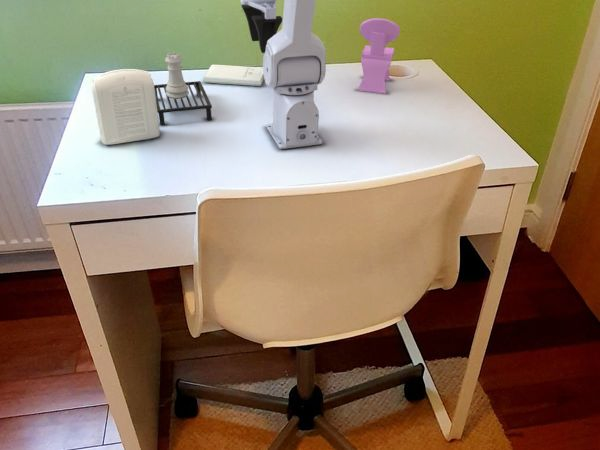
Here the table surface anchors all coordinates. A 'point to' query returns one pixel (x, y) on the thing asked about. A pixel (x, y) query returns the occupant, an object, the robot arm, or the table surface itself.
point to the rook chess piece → (175, 77)
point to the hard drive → (234, 75)
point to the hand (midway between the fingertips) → (261, 46)
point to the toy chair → (377, 53)
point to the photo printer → (125, 106)
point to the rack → (198, 88)
